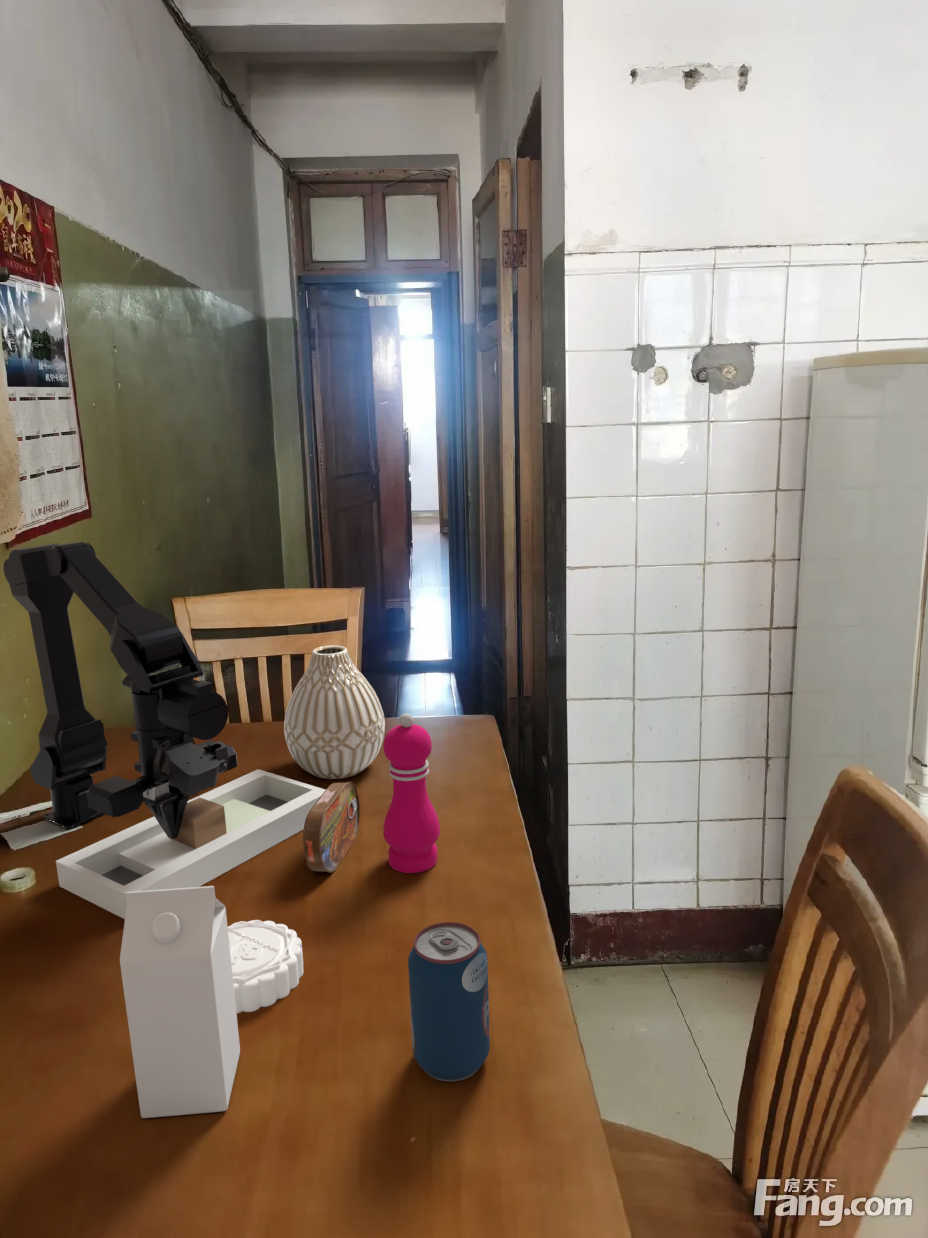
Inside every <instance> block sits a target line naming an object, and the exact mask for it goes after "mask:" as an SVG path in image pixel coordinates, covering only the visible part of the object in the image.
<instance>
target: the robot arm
mask: <svg viewBox="0 0 928 1238" xmlns="http://www.w3.org/2000/svg"><path fill="white" fill-rule="evenodd" d="M96 555H97V554H96V551H95V549H94V547H93V546H92V544H90V543H89V542H84V541H74V542H68V543H58V542H56V543H55V542H54V543H50V544H42V545H37V546H36V545H35V546H29V547H24V548H23V547H22V548H15V549H12V550H11V551H10V552H9V555H8V558H6V559H5V560H4V562H3V567H2V569H3V574H4V577H5V579H6V581H7V583H8V584H9V589H10V592H11V595H12V596H13V598H14V599H16V601H17V602H18V603H19V604H20V605H21V606H22V607H23V608H24V610H25V611H27V612H28V616H29V620H30V626H31V632H32V636H33V637H32V638H33V642H34V648H35V654H36V658H37V663H38V669H39V674H40V679H41V680H40V681H41V686H42V691H43V695H44V701H45V707H46V716H45V718H44V720H43V722H42V726H41V728H40V730H39V733H38V741H39V743H38V744H39V751H38V753H37V755H36V756H35V759H34V761H33V762H32V764H31V766H30V768H29V771H30V774H31V778H32V779H33V783H34V784H36V785H38V786H41V787H43V788H45V789H47V790H49V792H50V798H51V799H50V800H51V806H52V811H50V812H48V813H45V814H44V815H43V819H44V820H46V819H48V820H51V821H54V822H55V823H57V824H59V825H61V826H60V827H62V826H64V827H66V828H65V829H67V828H68V829H71V827H72V826H74V827H76V826H79V825H81V824H84V823H85V822H87V821H90V820H92V819H94V818H97V817H100V816H101V815H107V816H109V817H111V818H118V817H122V816H125V815H127V814H130V813H132V812H134V811H136V810H139V809H140V807H141V806H142V804H144V805H145V806H146V807H147V808H148V809H149V811H150V812H151V814H152V816H153V817H155V818H156V820H157V821H158V823H159V824H160V826H161V827H162V829H163V830H164V832H165V834H166V835H167V837H168V838H170V839H175V838H177V837H178V833H179V830H180V826H181V822H182V818H183V815H184V811H185V807H186V805H187V802H188V801H189V800H190V799H189V798H190V797H191V796H195V795H199V793H200V792H202V791H204V790H207V789H209V788H210V789H212V788H214V787H215V786H216V785H217V783H218V777H219V774H223V773H225V772H226V773H227V772H228V771H231V770H233V769H235V768H237V767H238V765H239V763H238V756H237V755H238V754H237V752H236V750H235V748H234V747H232V746H231V745H228V744H225V743H224V742H222V741H221V740H218V741H215V740H212V739H214V738H216V737H217V736H218V735H220V734H221V732H222V731H223V730H224V728H225V727H226V725H227V722H228V719H229V711H230V710H229V705H228V704H227V701H226V700H225V698H224V697H223V696H222V695H221V694H219V693H218V692H216V691H213V690H212V689H213V687H212V683H211V682H210V681H207V680H198V679H196V678H200V677H202V676H204V671H203V669H202V667H201V666H200V659H199V658H198V656H197V655H196V654H195V652H194V651H193V649H192V648H191V647H190V645H189V643H188V642H187V641H188V640H186V638H185V635H184V634H183V632H182V631H181V630H180V628H179V626H177V625H176V624H175V623H174V622H172V621H171V620H170V619H168V618H167V616H165V615H164V614H163V613H161V612H159V611H156V610H153V609H150V608H147V607H144V606H143V605H141V604H140V603H139V602H138V601H137V600H136V599H135V598H134V597H133V596H132V595H131V593H130V592H129V591H128V590H127V588H125V587H124V585H123V584H122V583H121V582H120V581H119V580H118V579H117V578H116V577H115V576H114V575H113V573H112V572H111V571H110V570H109V569H108V568H107V567H106V566H105V565H104V564H103V561H101V560H100V559H99V558H98V557H97V556H96ZM74 593H75V595H76V596H77V597H78V599H79V600H80V601H81V602H82V603H83V604H84V605H85V606H86V608H88V610H89V611H90V612H91V613H92V615H93V616H94V617H95V618H96V619H97V620H98V621H99V623H100V624H101V625H102V626H103V627H104V628H105V630H106V631H107V633H108V634H109V635H110V652H111V653H112V655H113V656H114V658H115V659H116V662H117V664H118V665H119V666H120V668H121V669H122V670H123V671H124V673H125V674H126V676H125V677H124V678H123V680H121V684H122V685H123V686H124V687H127V688H130V689H131V690H130V691H131V698H132V705H133V707H132V708H133V715H134V722H135V724H134V725H135V730H133V731H131V732H130V739H131V741H133V742H136V743H137V747H138V756H139V760H138V761H135V762H134V763H133V765H134V771H135V772H138V773H140V774H141V776H139V777H136V778H134V779H132V780H130V779H127V778H124V777H122V776H118V775H115V776H112V777H109V778H106V779H104V780H102V781H99V782H98V781H97V782H95V783H94V779H93V778H94V777H93V776H92V775H93V774H96V773H99V772H104V771H105V770H106V766H107V764H106V763H107V757H108V756H107V755H108V754H107V753H108V741H107V739H106V736H105V728H104V726H105V725H104V723H103V721H102V720H101V719H99V718H98V719H96V717H94V715H93V714H92V713H91V712H90V711H88V710H87V709H86V705H85V699H84V694H83V688H82V683H81V678H80V672H79V666H78V661H77V655H76V650H75V643H74V637H73V632H72V627H71V621H70V615H69V614H70V613H69V605H70V603H71V601H72V598H73V596H74ZM179 664H180V665H181V666H179V667H177V666H178V665H179ZM175 666H176V667H175ZM173 667H175V668H173ZM169 668H171V669H169ZM167 669H168V670H167ZM162 670H166V671H162ZM159 671H162V672H159ZM158 672H159V673H158ZM195 739H198V740H203V742H199V743H198V744H196V741H195ZM48 820H47V821H48ZM55 823H54V824H55ZM57 824H56V825H57ZM59 825H58V826H59ZM64 827H63V828H64ZM72 828H73V827H72Z"/></svg>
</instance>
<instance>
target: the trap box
mask: <svg viewBox="0 0 928 1238" xmlns="http://www.w3.org/2000/svg"><path fill="white" fill-rule="evenodd" d="M325 790H326V788H322V787H318V786H315V785H313V784H308V783H305V782H301V781H299V780H295V779H291V778H289V777H286V776H283V775H278V774H275V773H273V772H268V771H265V770H262V769H259V768H257V769H256V770H253V771H251V772H249V773H247V774H244V775H242V776H240V777H238V778H235V779H232V780H231V781H229V782H227V783H225V784H223V785H222V784H221V786H220V785H219V786H218V787H216V788H213V789H211V790H209V791H207V792H205V793H202V794H200V795H199V796H196V797H193V798H191V799H188V802H190V801H193V800H195V799H197V798H199V797H200V798H203V799H206V800H209V801H211V802H214V803H217V804H220V805H223V806H224V811H225V820H226V830H227V834H225V835H223V836H221V837H219V838H217V839H215V840H213V841H211V842H209V843H207V844H205V845H203V846H201V847H199V848H197V849H195V848H192V847H190V846H188V845H185V844H183V843H180V842H178V841H175V840H173V839H170V838H168V837H167V835H166V834H165V832H164V830H163V829H162V827H161V826H160V824H159V823H158V821H157V820H156V818H155V817H154V816H152V817H149V818H147V819H145V820H142V821H141V822H139V823H136V824H134V825H132V826H130V827H127V828H125V829H123V830H120V831H119V832H117V833H114V834H112V835H110V836H108V837H105V838H103V839H101V840H98V841H97V842H95V843H91V845H87V846H85V847H84V848H81V849H79V850H77V851H74V852H73V853H70V854H68V855H66V856H63V857H61V858H60V859H57V860H55V864H56V865H55V867H56V872H57V879H58V884H59V887H60V888H63V889H64V890H66V891H68V892H70V893H72V894H74V895H76V896H78V897H79V898H82V899H83V900H86V901H88V902H90V903H92V904H93V905H96V906H97V907H100V908H102V909H104V910H105V911H107V912H110V913H111V914H113V915H115V916H118V917H119V918H122V919H123V920H125V916H126V909H127V900H126V892H132V891H146V890H161V889H175V888H190V887H202V886H203V885H205V884H207V883H208V882H211V881H213V880H214V879H216V878H217V877H219V876H221V875H223V874H225V873H227V872H229V871H230V870H232V869H234V868H236V867H239V866H240V865H242V864H243V863H244V862H247V861H248V860H250V859H252V858H254V857H256V856H257V855H260V854H262V853H263V852H265V851H266V850H268V849H271V848H273V847H274V846H276V845H277V844H279V843H281V842H283V841H284V840H287V839H288V838H291V837H292V836H294V835H295V834H296V835H297V834H298V833H299V832H301V831H303V829H304V824H305V820H306V817H307V814H308V812H309V811H310V809H311V808H312V807H313V806H314V804H315V803H316V802H317V800H318V799H319V798H320V797H321V795H322V794H323V793H324V792H325ZM188 802H187V803H188Z"/></svg>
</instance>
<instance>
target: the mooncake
mask: <svg viewBox="0 0 928 1238" xmlns="http://www.w3.org/2000/svg"><path fill="white" fill-rule="evenodd" d="M227 927H228V937H229V946H230V956H231V966H232V975H233V985H234V995H235V1005H236V1014H239V1013H242V1012H244V1013H251V1012H255V1011H257V1010H259V1009H260V1008H262V1007H263V1008H266V1007H270V1006H272V1005H274V1004H275V1003H276V1002H277V1000H280V999H283V998H286V997H287V996H289V994H290V992H291V990H293V989H294V988H297V986H298V985H299V983H300V978H301V977H302V976H303V975H304V957H303V956H304V955H303V944H302V943H303V942H302V940H301V938H300V937H298V933H297V932H296V931H295V930H294V929H291V928H289V927H288V926H287V925H286V924H283V923H277V924H276V922H275V921H273V920H264V921H262V920H260V919H253V920H249V921H243V920H241V921H238V922H234V923H232V924H230V925H229V926H228V925H227Z"/></svg>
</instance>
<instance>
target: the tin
mask: <svg viewBox="0 0 928 1238" xmlns="http://www.w3.org/2000/svg"><path fill="white" fill-rule="evenodd" d="M360 805H361V804H360V796H359V793H358V789H357V787H356V785H355V784H354V783H353V782H352V781H348V782H333V783H331V784H329V786H328V787H327V788H325V792H324V793H323V794H322V795H321V797H320V798H319V799H318V800H317V802H316V803H315V804H314V806H313V807H312V808H311V809H310V811H309V812H308V814H307V817H306V820H305V824H304V829H303V830H302V842H303V848H304V856H305V860H306V862H305V863H306V865H307V867H308V869H310V871H313V872H327V873H333V872H335V871H336V870H337V869H338V868H339V866H340V864H341V863H342V861H343V859H344V858H345V856H346V854H347V853H348V851H349V850H350V849H351V847H352V845H353V844H354V842H355V840H356V839H357V836H358V832H359V827H360V822H361V821H360V820H361V819H360V818H361V806H360Z"/></svg>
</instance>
